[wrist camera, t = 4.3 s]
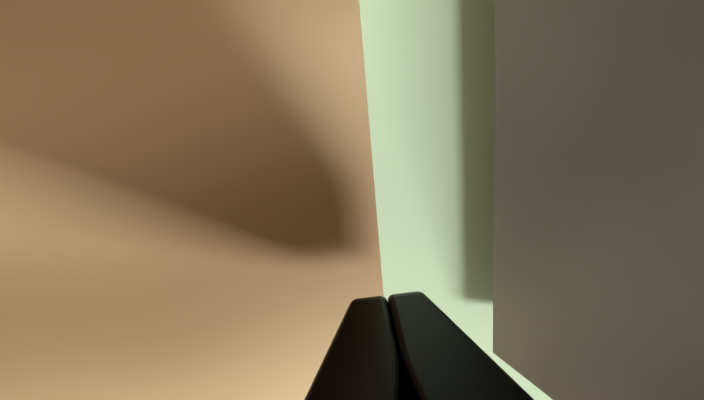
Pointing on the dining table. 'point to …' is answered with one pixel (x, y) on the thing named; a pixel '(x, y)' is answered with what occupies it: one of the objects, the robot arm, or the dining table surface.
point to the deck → (180, 196)
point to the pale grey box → (600, 197)
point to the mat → (436, 155)
